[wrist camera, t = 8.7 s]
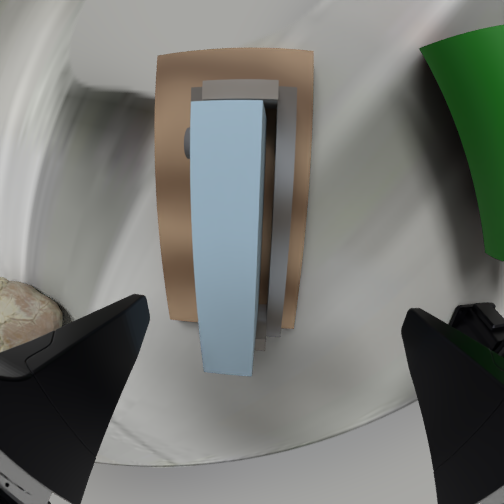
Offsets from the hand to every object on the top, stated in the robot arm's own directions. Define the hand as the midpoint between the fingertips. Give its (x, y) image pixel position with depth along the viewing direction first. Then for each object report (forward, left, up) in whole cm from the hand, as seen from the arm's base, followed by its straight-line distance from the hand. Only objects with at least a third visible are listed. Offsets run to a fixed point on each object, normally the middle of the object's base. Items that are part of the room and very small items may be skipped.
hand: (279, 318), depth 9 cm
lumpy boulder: (-11, +29, -12) cm, 33 cm away
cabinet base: (+2, +3, -12) cm, 12 cm away
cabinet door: (+1, +2, -10) cm, 10 cm away
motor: (+16, -12, -7) cm, 21 cm away
